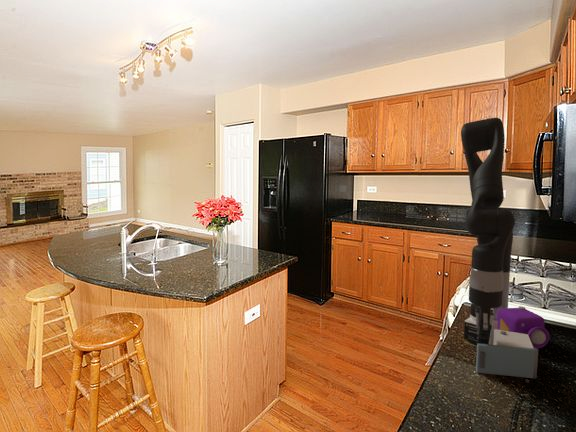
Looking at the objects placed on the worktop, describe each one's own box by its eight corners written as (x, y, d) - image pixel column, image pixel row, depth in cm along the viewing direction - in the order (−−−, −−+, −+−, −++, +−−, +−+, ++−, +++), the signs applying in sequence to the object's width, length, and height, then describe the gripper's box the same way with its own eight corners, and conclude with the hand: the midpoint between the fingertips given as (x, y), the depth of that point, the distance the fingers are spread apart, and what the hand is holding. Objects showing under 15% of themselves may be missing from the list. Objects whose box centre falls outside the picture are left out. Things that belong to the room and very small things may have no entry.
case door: (475, 370, 89) (477, 343, 88) (535, 376, 86) (536, 348, 85) (478, 373, 87) (479, 346, 86) (538, 380, 84) (540, 351, 83)
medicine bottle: (463, 342, 105) (464, 304, 103) (472, 335, 109) (473, 299, 108) (488, 351, 99) (490, 311, 98) (497, 343, 104) (499, 305, 103)
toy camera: (530, 357, 95) (532, 323, 95) (489, 336, 109) (491, 306, 108) (559, 352, 98) (561, 318, 97) (516, 332, 111) (518, 302, 110)
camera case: (492, 352, 98) (494, 327, 98) (529, 359, 94) (531, 333, 94) (495, 369, 90) (497, 341, 89) (536, 377, 86) (538, 348, 85)
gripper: (469, 276, 95) (466, 335, 97) (469, 291, 84) (466, 358, 86) (500, 280, 92) (496, 341, 94) (505, 296, 80) (501, 365, 82)
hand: (482, 349), depth 90 cm, fingers closed
